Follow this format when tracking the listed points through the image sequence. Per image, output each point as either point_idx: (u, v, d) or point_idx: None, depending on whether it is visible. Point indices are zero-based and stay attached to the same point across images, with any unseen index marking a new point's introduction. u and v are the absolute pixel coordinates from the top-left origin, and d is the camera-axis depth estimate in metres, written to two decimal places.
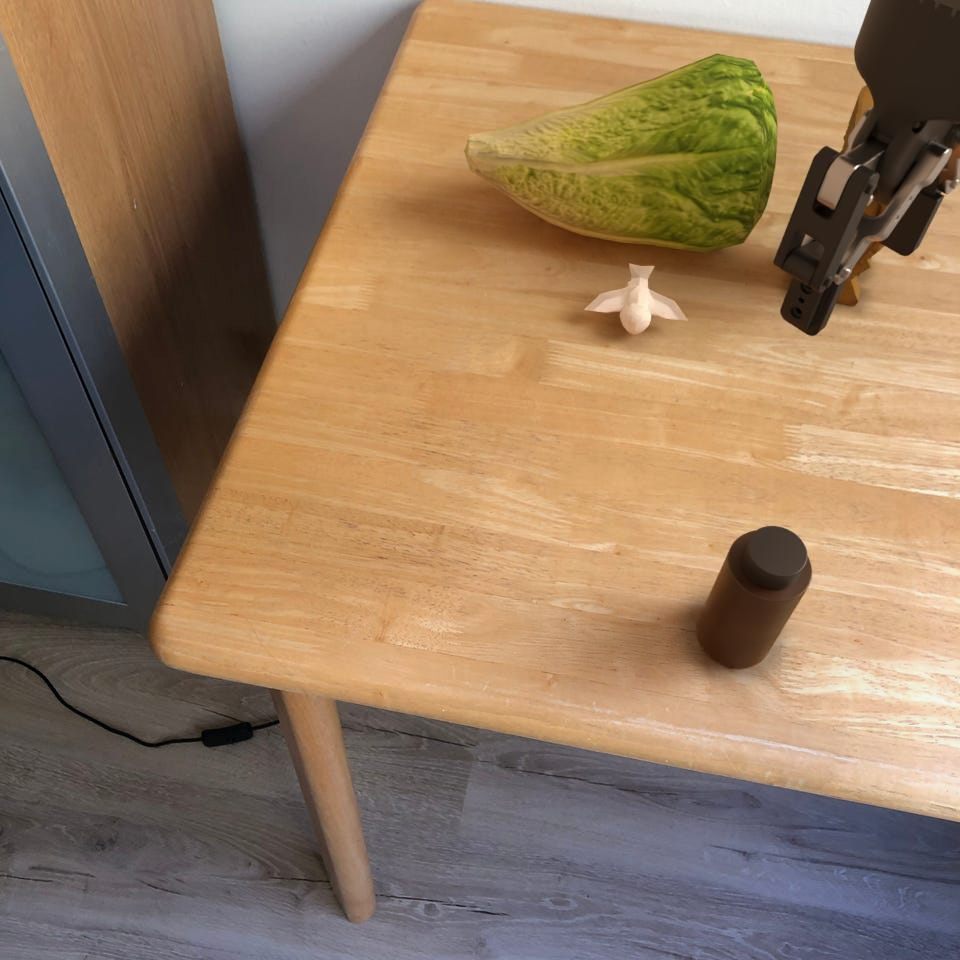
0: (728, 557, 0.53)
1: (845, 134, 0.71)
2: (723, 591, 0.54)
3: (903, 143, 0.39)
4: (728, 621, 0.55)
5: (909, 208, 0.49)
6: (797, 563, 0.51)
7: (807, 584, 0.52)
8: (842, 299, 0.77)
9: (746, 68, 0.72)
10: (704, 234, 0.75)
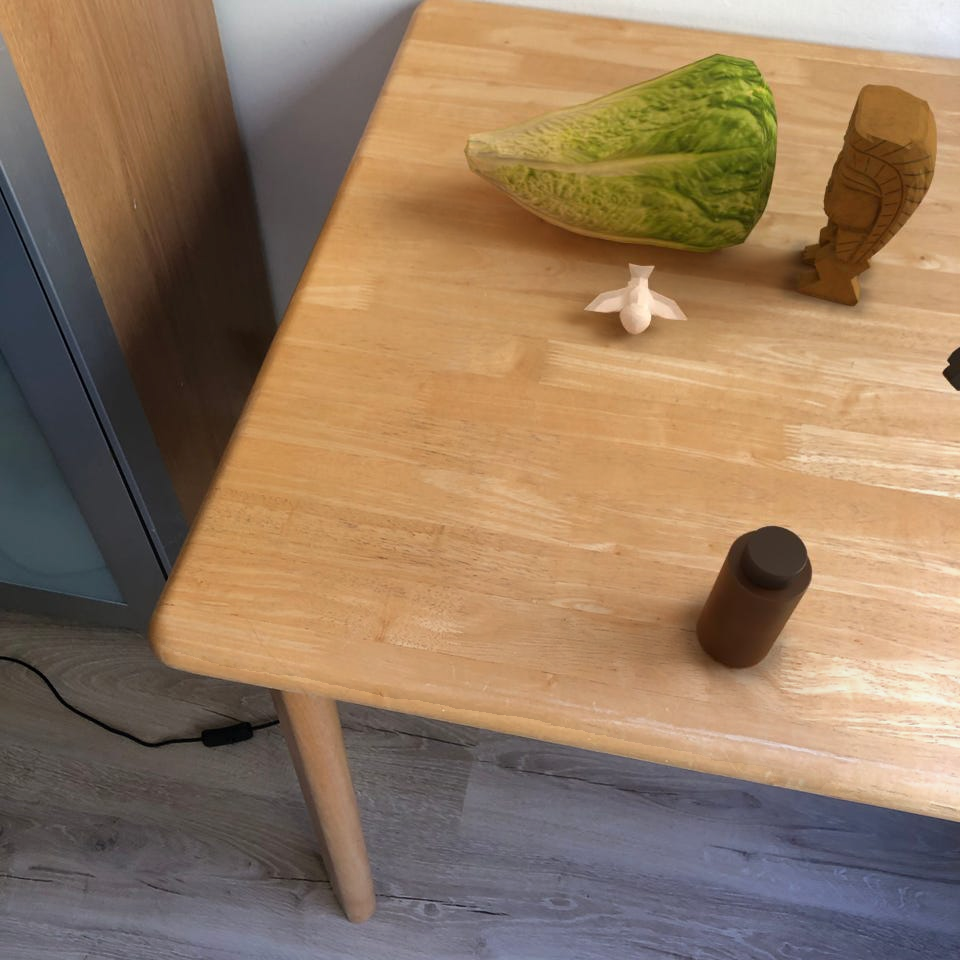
0: (728, 557, 0.53)
1: (845, 134, 0.71)
2: (723, 591, 0.54)
3: None
4: (728, 621, 0.55)
5: None
6: (797, 563, 0.51)
7: (807, 584, 0.52)
8: (842, 299, 0.77)
9: (746, 68, 0.72)
10: (704, 234, 0.75)
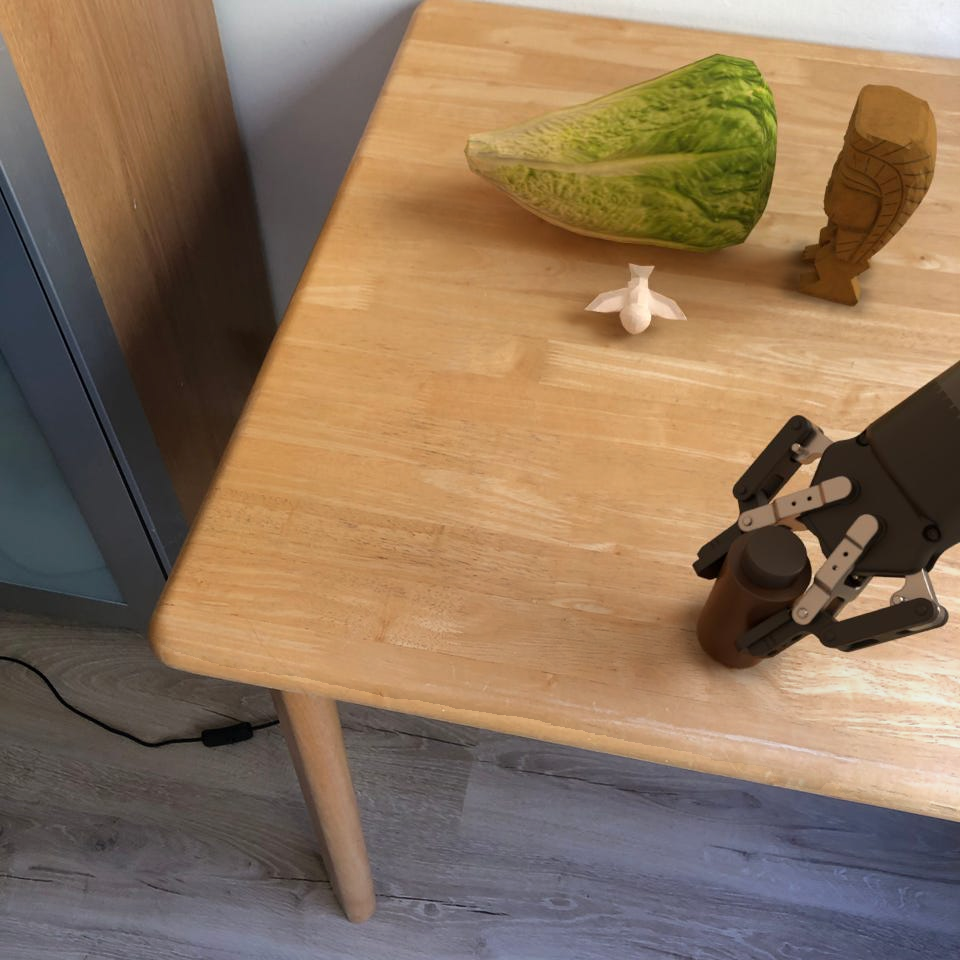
0: (728, 557, 0.53)
1: (845, 134, 0.71)
2: (723, 591, 0.54)
3: None
4: (729, 621, 0.55)
5: None
6: (797, 563, 0.51)
7: (807, 584, 0.52)
8: (842, 299, 0.77)
9: (746, 68, 0.72)
10: (704, 234, 0.75)
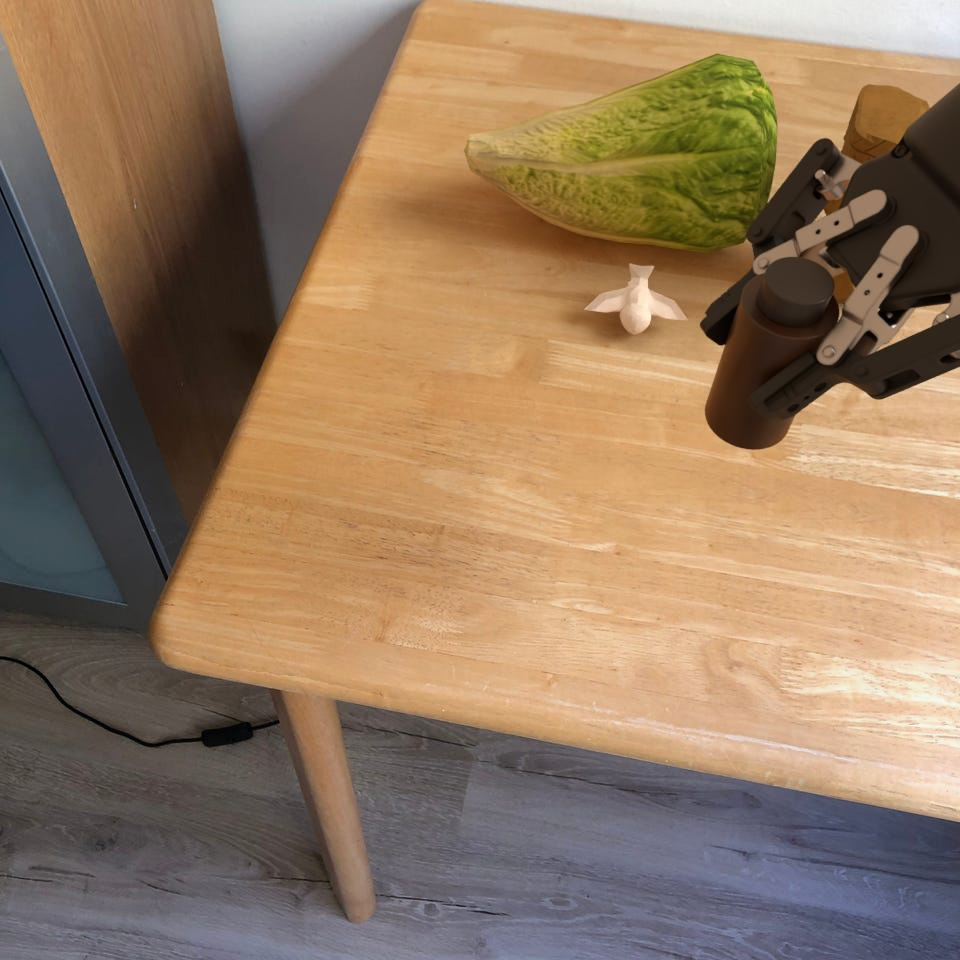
0: (742, 296, 0.46)
1: (845, 134, 0.71)
2: (735, 341, 0.47)
3: None
4: (742, 379, 0.48)
5: None
6: (823, 292, 0.44)
7: (834, 322, 0.45)
8: (842, 299, 0.77)
9: (746, 68, 0.72)
10: (704, 234, 0.75)
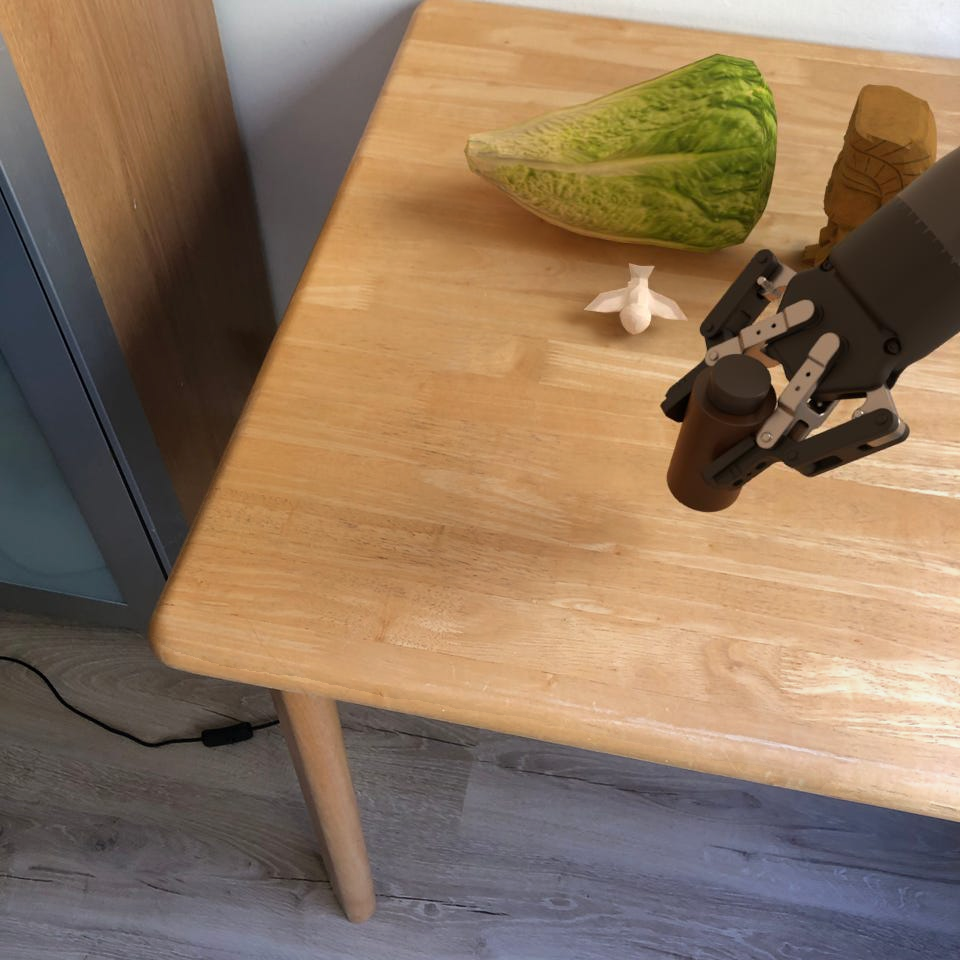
0: (693, 387, 0.54)
1: (845, 134, 0.71)
2: (689, 424, 0.55)
3: None
4: (695, 455, 0.55)
5: None
6: (761, 386, 0.52)
7: (771, 410, 0.53)
8: None
9: (746, 68, 0.72)
10: (704, 234, 0.75)
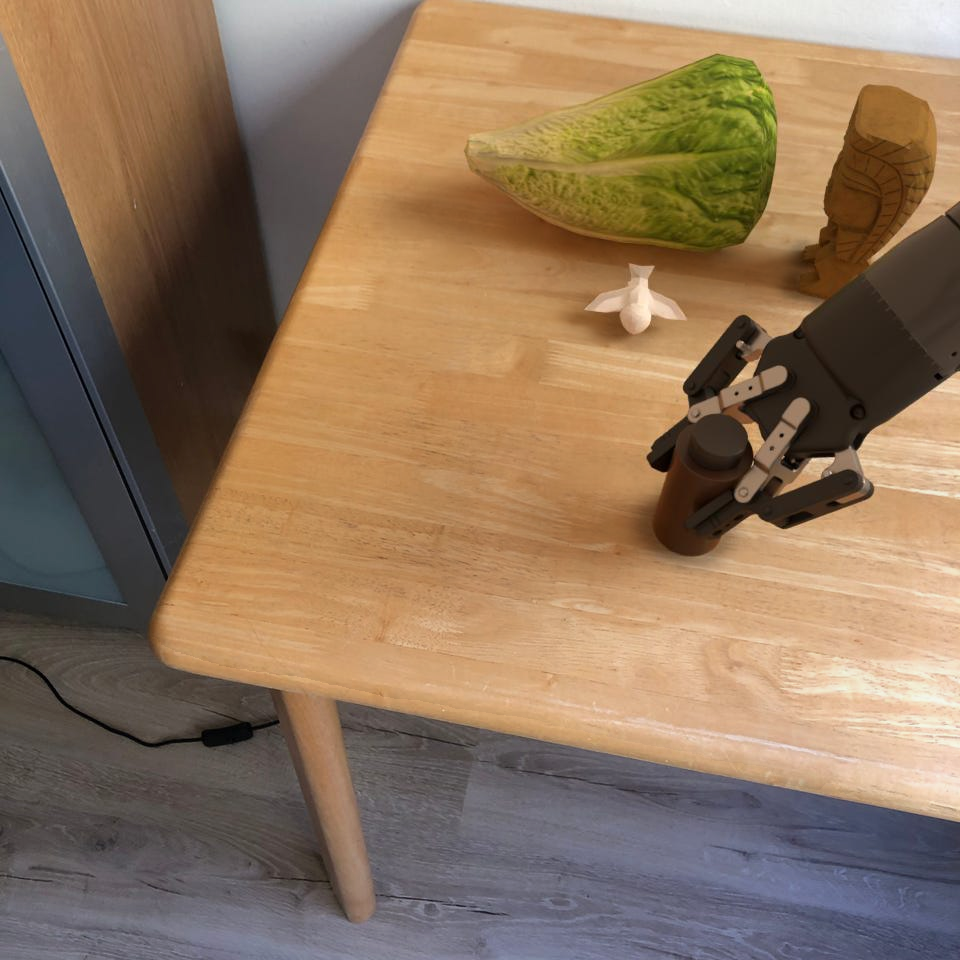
0: (676, 443, 0.58)
1: (845, 134, 0.71)
2: (672, 477, 0.59)
3: None
4: (678, 505, 0.60)
5: None
6: (738, 445, 0.56)
7: (748, 466, 0.57)
8: None
9: (746, 68, 0.72)
10: (704, 234, 0.75)
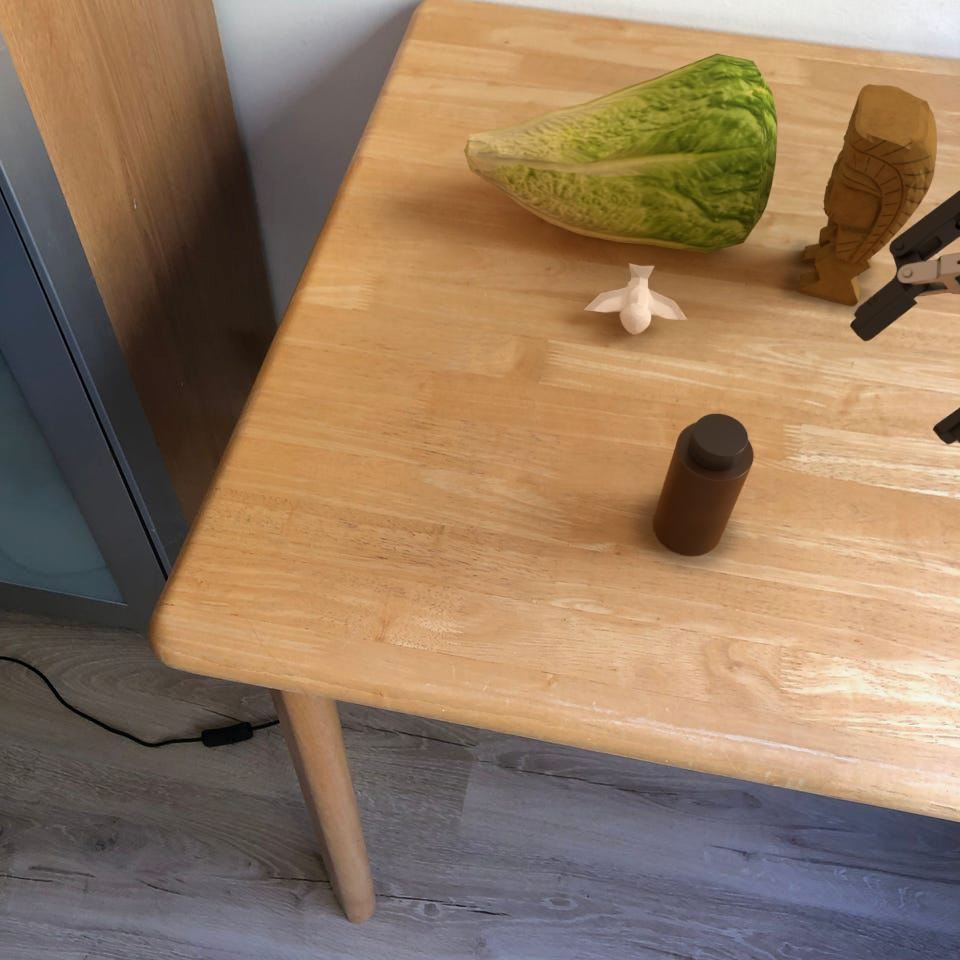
0: (677, 443, 0.58)
1: (845, 134, 0.71)
2: (672, 477, 0.59)
3: None
4: (678, 505, 0.60)
5: None
6: (738, 445, 0.56)
7: (748, 466, 0.57)
8: (842, 299, 0.77)
9: (746, 68, 0.72)
10: (704, 234, 0.75)
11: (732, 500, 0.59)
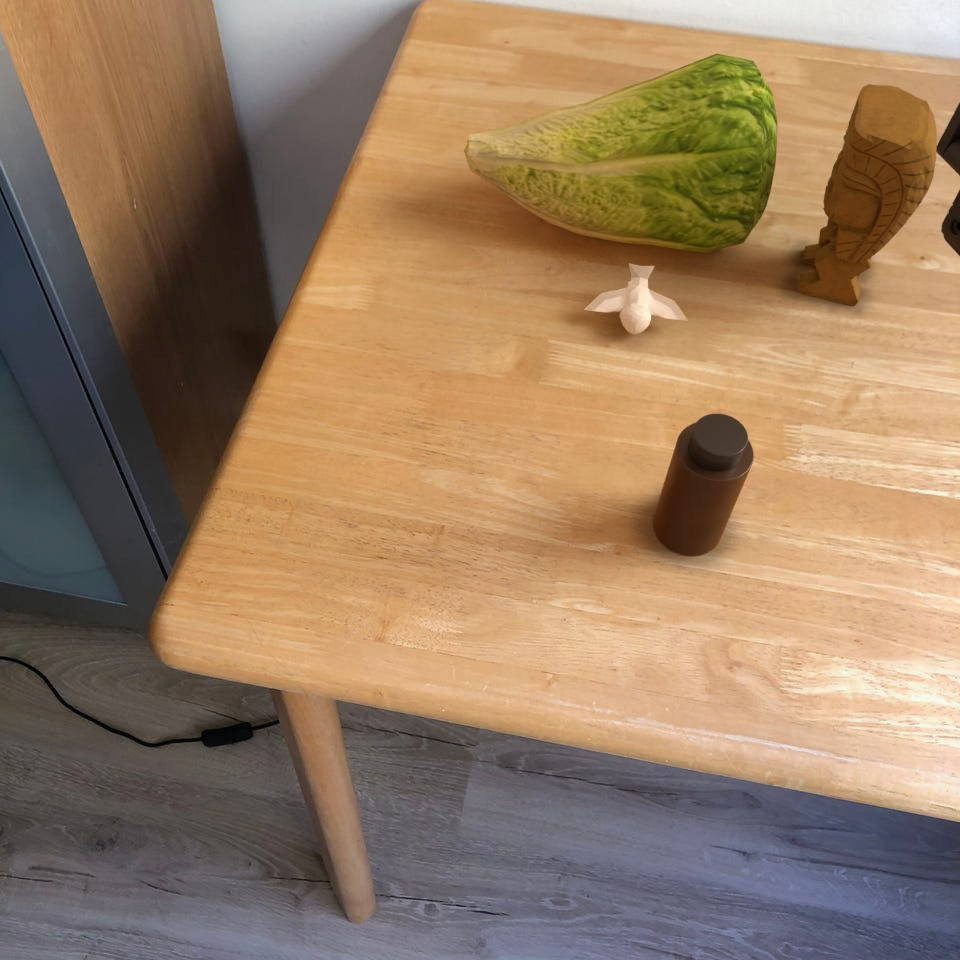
0: (677, 443, 0.58)
1: (845, 134, 0.71)
2: (672, 477, 0.59)
3: None
4: (678, 505, 0.60)
5: None
6: (738, 445, 0.56)
7: (748, 466, 0.57)
8: (842, 299, 0.77)
9: (746, 68, 0.72)
10: (704, 234, 0.75)
11: (732, 500, 0.59)
